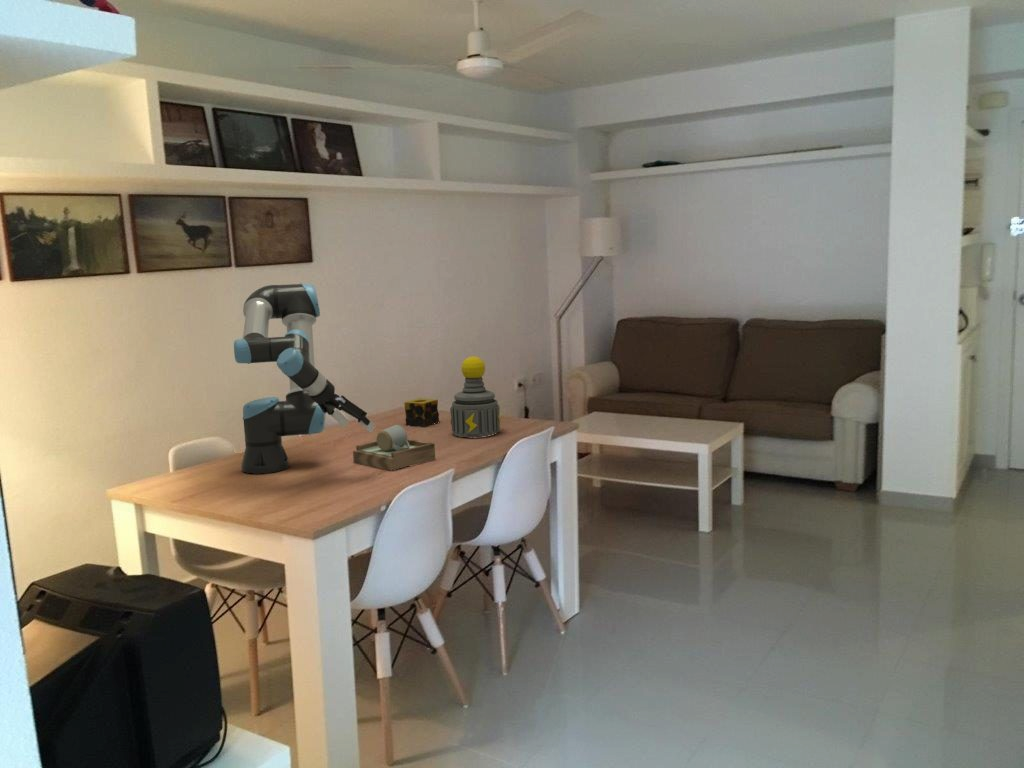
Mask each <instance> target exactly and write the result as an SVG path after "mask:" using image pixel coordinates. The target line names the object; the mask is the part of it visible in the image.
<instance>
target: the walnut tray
mask: <svg viewBox="0 0 1024 768" xmlns="http://www.w3.org/2000/svg"><path fill="white" fill-rule="evenodd" d="M407 442H408V443H409V445H410V447H409V449H405V450H401V451H397V450H395V449H394V450H391V451H383V450H382V449H380V448H379V446H378V444H377V440H374V441H371V442H367V443H363V444H358V445H356V446H355V450H353V451H352V456H353V457H352V458H353V463H354V462H355V464H358V463H359V465H362V464H363V466H368V467H371V466H372V467H373V468H375V467H377V468H376V469H380V468H381V469H380V470H384V469H386V470H385V471H389V470H390V472H393V471H392V470H394V471H397V470H396V469H398V470H400V469H399V468H402V469H404V468H403V467H405V468H407V467H406V466H409V467H411V466H410V465H413V466H415V465H414V464H417V465H419V464H418V463H420V464H423V463H422V462H424V463H428V462H431V461H435V460H436V446H435V443H433V442H428V441H424V440H417V439H411V438H407ZM406 447H407V446H406V445H405V446H403V447H401V448H406ZM427 461H428V462H427Z"/></svg>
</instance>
